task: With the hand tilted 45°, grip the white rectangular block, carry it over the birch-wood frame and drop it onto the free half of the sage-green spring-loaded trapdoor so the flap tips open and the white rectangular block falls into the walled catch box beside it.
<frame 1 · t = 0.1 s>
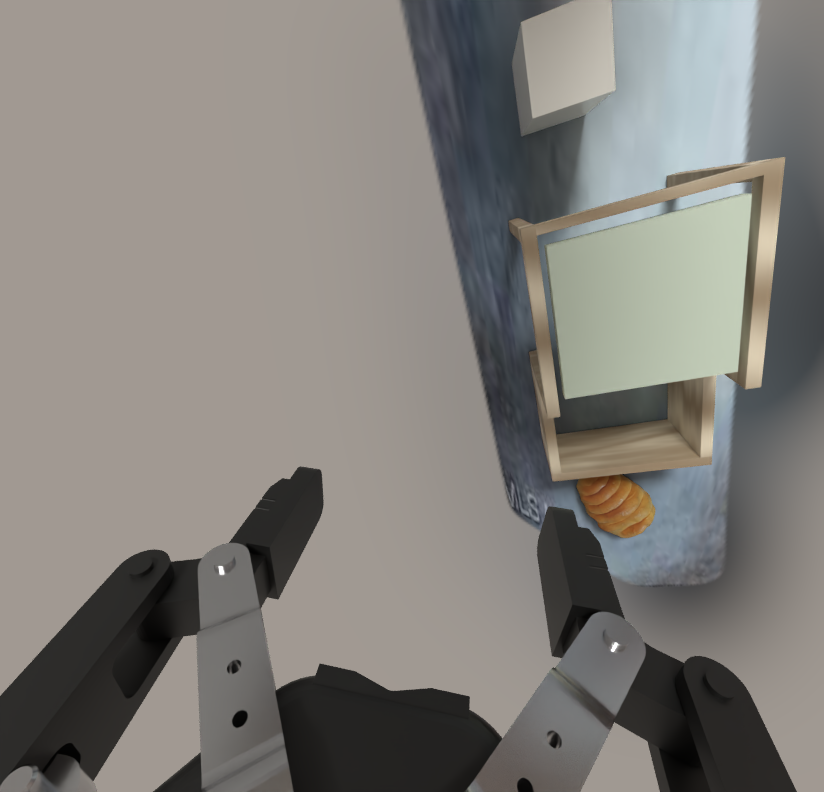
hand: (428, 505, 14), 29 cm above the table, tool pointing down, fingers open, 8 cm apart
trapdoor: (642, 309, 26), point 12 cm above the table, hinge at -0.2°
trapdoor frame: (595, 277, 36), on the table
pastry: (609, 493, 47), on the table
white rectangular block: (548, 89, 31), on the table
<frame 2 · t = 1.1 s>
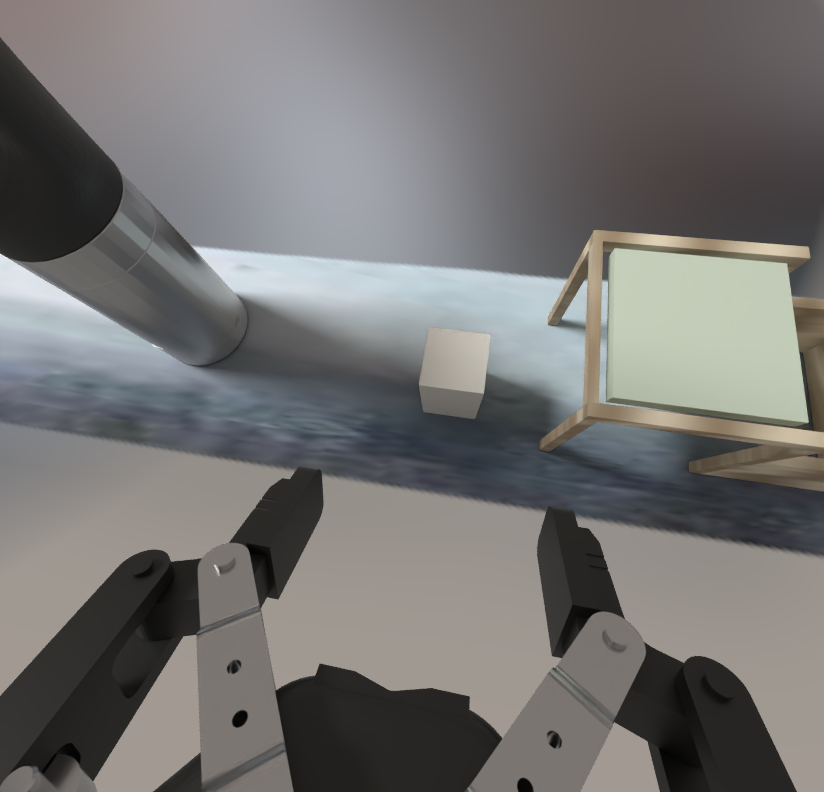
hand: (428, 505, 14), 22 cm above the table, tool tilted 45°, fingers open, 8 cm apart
trapdoor: (698, 331, 25), point 12 cm above the table, hinge at -0.4°
trapdoor frame: (618, 389, 37), on the table
white rectangular block: (452, 391, 38), on the table
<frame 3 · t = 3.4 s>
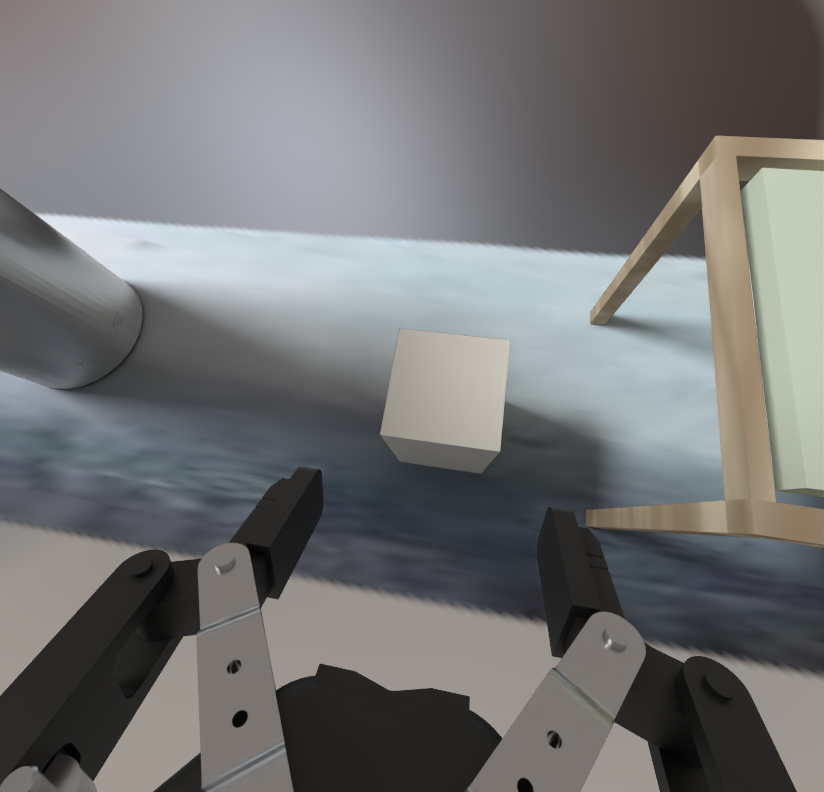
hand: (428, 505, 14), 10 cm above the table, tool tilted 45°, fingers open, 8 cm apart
trapdoor frame: (708, 424, 23), on the table
white rectangular block: (445, 427, 24), on the table
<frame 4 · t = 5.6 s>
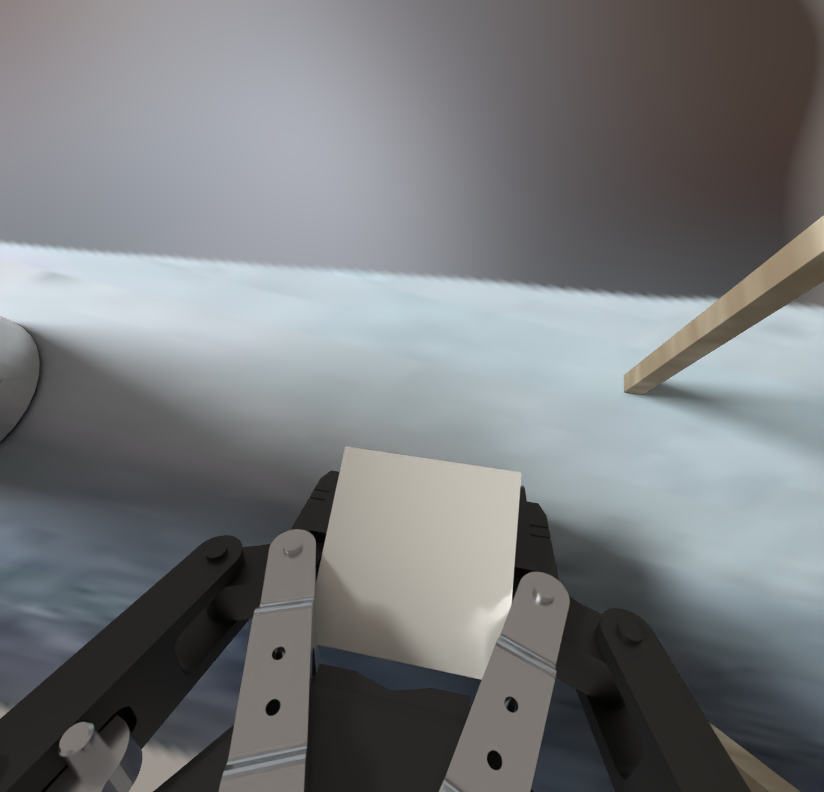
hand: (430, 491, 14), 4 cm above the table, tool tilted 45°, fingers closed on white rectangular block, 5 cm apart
trapdoor frame: (794, 544, 17), on the table
white rectangular block: (428, 538, 18), on the table, touching gripper
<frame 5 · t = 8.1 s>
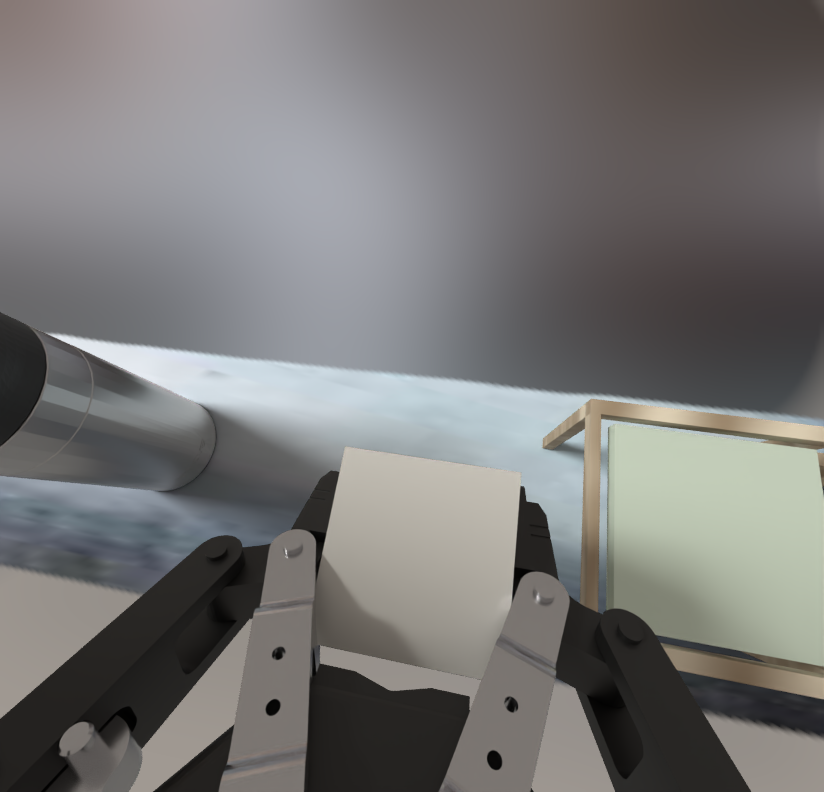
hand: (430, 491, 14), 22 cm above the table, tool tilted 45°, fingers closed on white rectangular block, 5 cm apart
trapdoor: (713, 534, 22), point 12 cm above the table, hinge at -0.5°
trapdoor frame: (621, 528, 33), on the table
white rectangular block: (428, 539, 18), point 17 cm above the table, touching gripper
when the fingers open (22 cm above the table, at t = 10.5 s): white rectangular block drops 10 cm and tips over, point 8 cm above the table.
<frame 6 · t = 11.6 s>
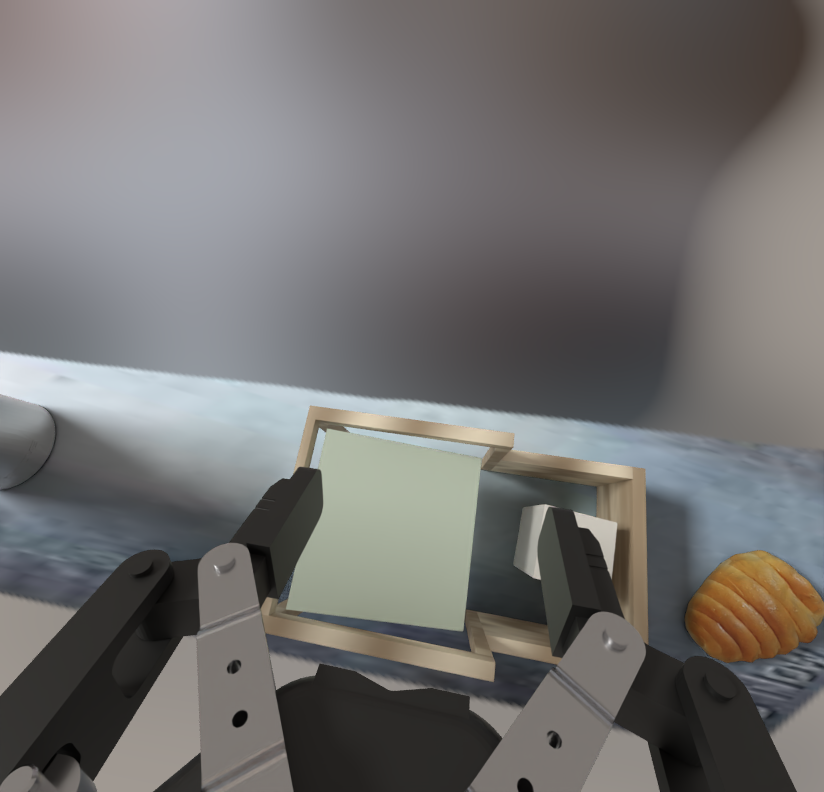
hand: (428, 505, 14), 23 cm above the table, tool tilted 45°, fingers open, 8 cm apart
trapdoor: (391, 526, 26), point 11 cm above the table, hinge at -15.7°
trapdoor frame: (408, 524, 36), on the table
pastry: (740, 604, 32), on the table
white rectangular block: (575, 549, 27), point 8 cm above the table, tilted 180°
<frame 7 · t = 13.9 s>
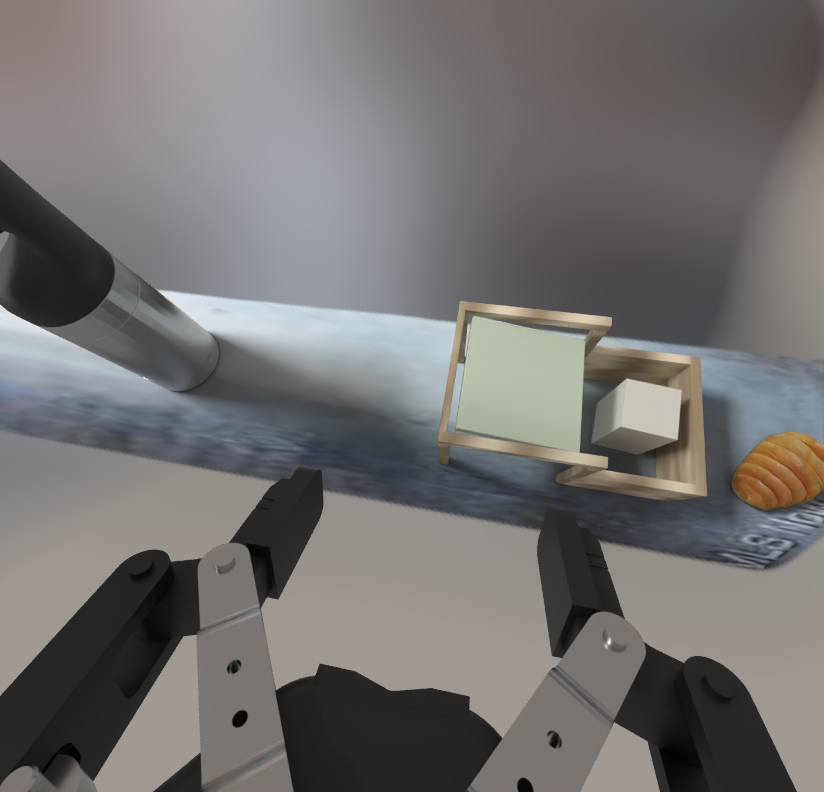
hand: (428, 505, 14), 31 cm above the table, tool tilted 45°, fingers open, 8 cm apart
trapdoor: (522, 383, 36), point 11 cm above the table, hinge at -11.9°
trapdoor frame: (506, 415, 46), on the table
pastry: (774, 474, 42), on the table
white rectangular block: (651, 408, 37), point 8 cm above the table, tilted 180°
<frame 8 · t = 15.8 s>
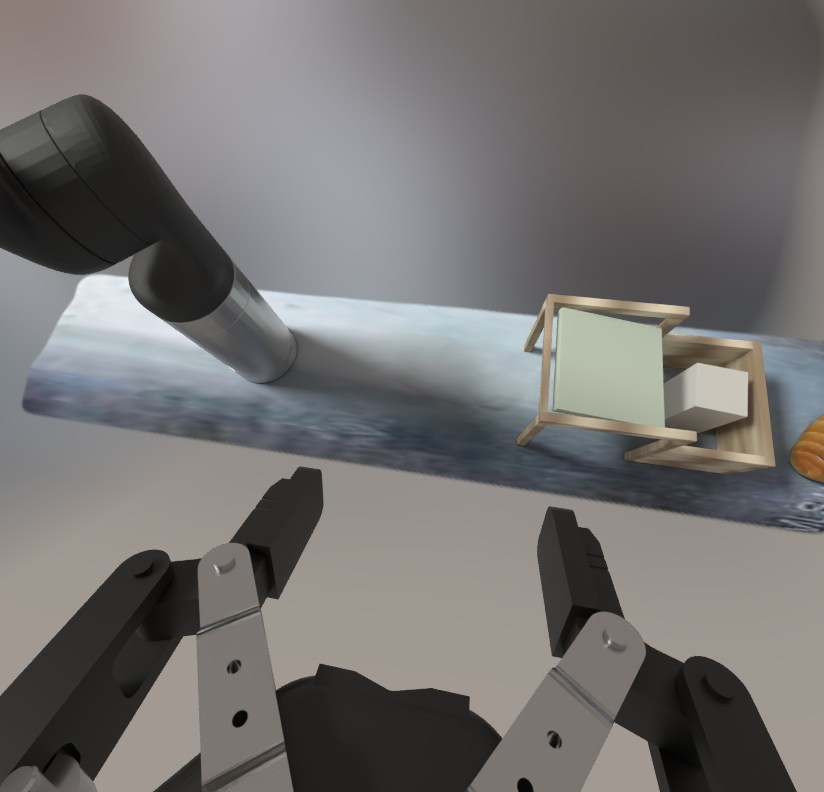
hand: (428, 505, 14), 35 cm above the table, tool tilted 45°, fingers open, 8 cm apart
trapdoor: (609, 368, 39), point 11 cm above the table, hinge at -11.8°
trapdoor frame: (575, 399, 50), on the table
white rectangular block: (721, 389, 41), point 8 cm above the table, tilted 180°
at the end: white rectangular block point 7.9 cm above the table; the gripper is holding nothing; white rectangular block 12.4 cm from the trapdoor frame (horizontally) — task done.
